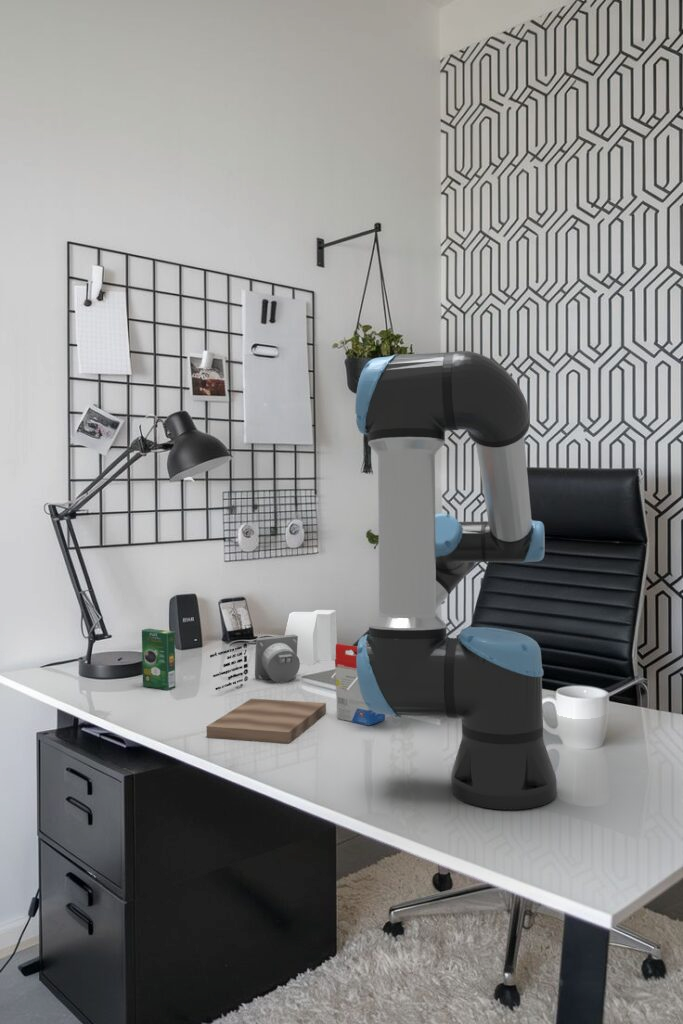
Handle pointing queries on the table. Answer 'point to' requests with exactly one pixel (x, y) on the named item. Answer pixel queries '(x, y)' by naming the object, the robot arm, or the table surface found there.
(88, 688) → the table surface
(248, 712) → the walnut plate
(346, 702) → the ink box
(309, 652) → the corner bracket
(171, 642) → the coffee box
